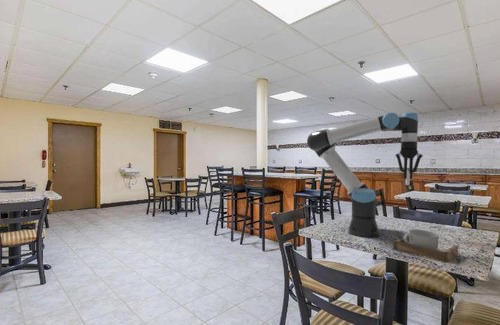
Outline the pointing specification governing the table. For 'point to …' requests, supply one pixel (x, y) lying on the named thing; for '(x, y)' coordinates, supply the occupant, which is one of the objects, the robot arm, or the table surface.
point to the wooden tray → (426, 250)
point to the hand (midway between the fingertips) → (407, 184)
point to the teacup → (422, 238)
